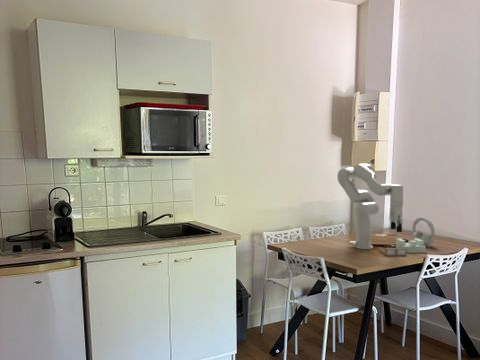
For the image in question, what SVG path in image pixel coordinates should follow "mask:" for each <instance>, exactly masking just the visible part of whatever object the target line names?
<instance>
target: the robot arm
mask: <svg viewBox="0 0 480 360" xmlns="http://www.w3.org/2000/svg"><path fill="white" fill-rule="evenodd" d="M358 179H361V180H362V181H363V182H365V183H366V185H367V187H368V189H369V190H370V191H371V192H373V194H375V195H377V196H379V197H382V196H390V197H389V198H390V199H389V200H390V201H389V202H390V207H389V208H390V209H389V221H390V230H396V232H397V233H402V232H403V221H404V220H403V207H404V186H403V185H402V184H392V183H382V184H381V183H379V182H378V181H376V179H377V173H375V172H374V170H373V166H372V165H371V164H368V163H359V164H355V165H354V166H353V167H344V168H340V169H339V170H338V171H337V182H338V184H339V185H340V186H341V188H342V189H343V190H344V192H345V193H346V195H347V197H348V198H349V199H350V201H351V203H353V204H357V205H356V206H355V209H354V210H355V211H354V212H355V215H356V216H355V217H356V239H355V240H354V241H349V245H354V246H353V247H354V248H356V249H360V250H372V249H374V246H373V245H372V243H371V240H372V239H371V237H372V236H371V235H372V233H371V232H372V222H371V218H370V216H375V215H377V214H378V213H379V211H380V207H379V204H378V202H377V201H376V200H375V198H374V196H373V195H372V194H371V192H370V191H368V190H365V189H359V188H358V186H357V185H356V184H355V183H354V182H353V181H352V180H358Z"/></svg>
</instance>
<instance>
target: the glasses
mask: <svg viewBox="0 0 480 360" xmlns="http://www.w3.org/2000/svg"><path fill="white" fill-rule="evenodd" d="M378 249H379V252H380V253H382V254H383V255H385V256H388V257H389V256H393V257H394V256H395V257H397V256H399V257H400V256H401V257H402V256H407V253H406V248H399V247H397V248H396V247H385V248H382V247H379V248H378Z"/></svg>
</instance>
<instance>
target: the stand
mask: <svg viewBox="0 0 480 360" xmlns="http://www.w3.org/2000/svg"><path fill="white" fill-rule="evenodd" d="M395 242H396V243H395V248H397V247H399V248H406V254H409V253H411V254H413V253H415V254H416V253H419V254H420V253H426V251H427V246H424V245H423V244H424V241H423V240H420V239H418V238H414V239H413V240H409V242H406V240H405V239H403V238H396V241H395Z"/></svg>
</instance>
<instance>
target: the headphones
mask: <svg viewBox="0 0 480 360" xmlns="http://www.w3.org/2000/svg"><path fill="white" fill-rule="evenodd" d="M421 221H424V222H425V223H426V224H427V226H428V227H429V229H430V232H431V233H430V232H425V233H424V232H423V231H422V230H417V229H416V226H417V225H418V224H419V223H420V222H421ZM411 228H412V233H413V234H412V240H414V238H418V239H420V240H423V241H424V244H423V245H424V246H426V248H430V247H431V245H433V244H434V238H435V228H434V224H433V223H432V221H431V220H430V219H428V218H427V217H424V216H422V217H418V218H416V219H414V221H413V224H412V227H411ZM416 230H417V231H416Z"/></svg>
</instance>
